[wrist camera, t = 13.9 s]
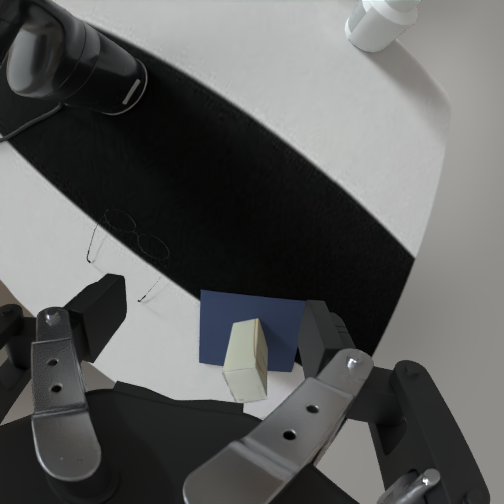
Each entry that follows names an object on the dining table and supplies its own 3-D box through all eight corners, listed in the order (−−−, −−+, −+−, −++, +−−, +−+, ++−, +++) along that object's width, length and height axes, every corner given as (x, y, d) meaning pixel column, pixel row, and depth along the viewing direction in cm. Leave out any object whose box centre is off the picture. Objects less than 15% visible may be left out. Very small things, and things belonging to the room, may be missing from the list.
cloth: (199, 361, 47) (199, 362, 47) (201, 289, 43) (200, 290, 43) (291, 370, 47) (291, 372, 47) (307, 301, 43) (307, 302, 43)
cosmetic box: (268, 348, 45) (269, 401, 34) (242, 353, 46) (236, 406, 34) (258, 316, 44) (257, 366, 32) (230, 322, 44) (221, 372, 32)
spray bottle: (380, 18, 29) (433, -36, 12) (390, 55, 31) (455, 9, 14) (339, 15, 30) (378, -51, 13) (349, 52, 32) (400, -6, 15)
